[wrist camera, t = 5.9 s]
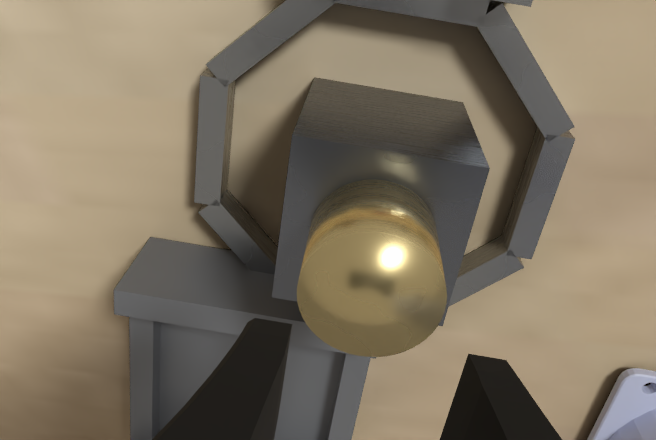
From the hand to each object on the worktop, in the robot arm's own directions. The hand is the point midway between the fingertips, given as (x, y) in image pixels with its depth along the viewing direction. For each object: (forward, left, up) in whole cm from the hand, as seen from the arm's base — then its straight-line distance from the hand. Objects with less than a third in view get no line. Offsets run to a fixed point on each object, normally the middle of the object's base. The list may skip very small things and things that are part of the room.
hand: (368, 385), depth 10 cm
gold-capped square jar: (0, 0, -10) cm, 10 cm away
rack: (+3, +8, -10) cm, 13 cm away
